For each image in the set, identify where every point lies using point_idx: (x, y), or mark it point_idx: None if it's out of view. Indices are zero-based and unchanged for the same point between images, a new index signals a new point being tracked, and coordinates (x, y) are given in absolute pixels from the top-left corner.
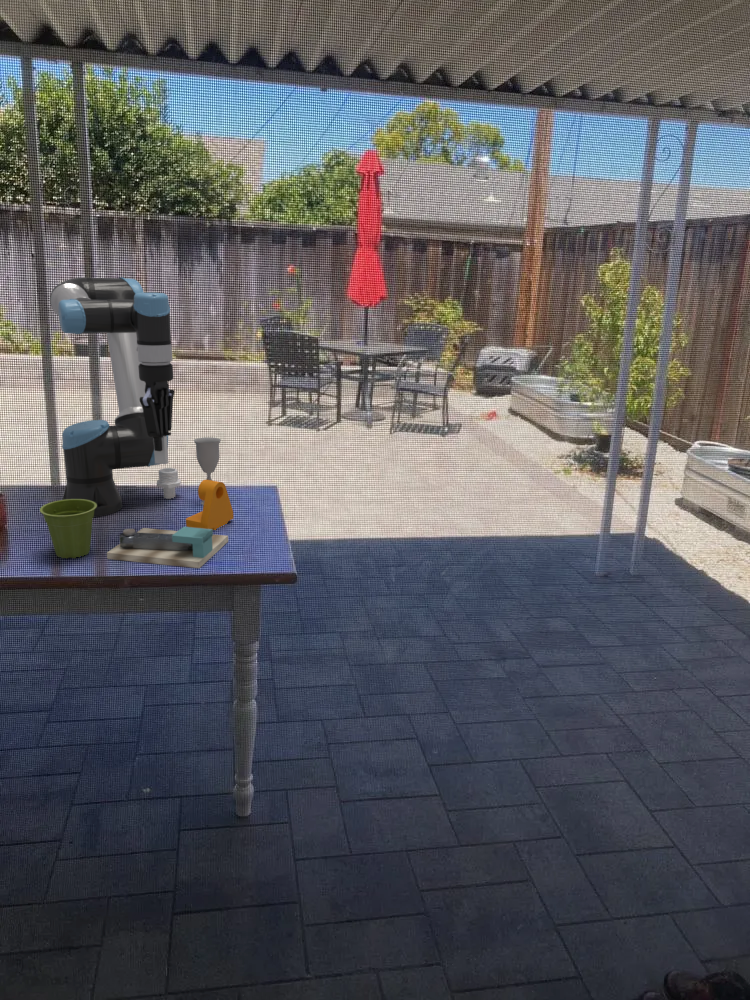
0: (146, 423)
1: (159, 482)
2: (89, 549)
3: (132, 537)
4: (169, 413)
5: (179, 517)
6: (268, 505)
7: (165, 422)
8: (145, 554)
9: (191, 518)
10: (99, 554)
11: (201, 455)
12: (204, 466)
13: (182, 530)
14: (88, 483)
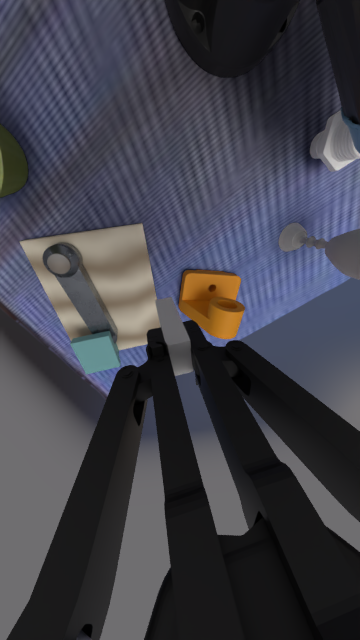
0: (97, 429)
1: (340, 118)
2: (14, 192)
3: (56, 273)
4: (273, 427)
5: (224, 231)
6: (286, 309)
7: (209, 413)
8: (56, 297)
9: (192, 280)
10: (28, 213)
11: (352, 252)
12: (332, 250)
13: (94, 343)
14: None
